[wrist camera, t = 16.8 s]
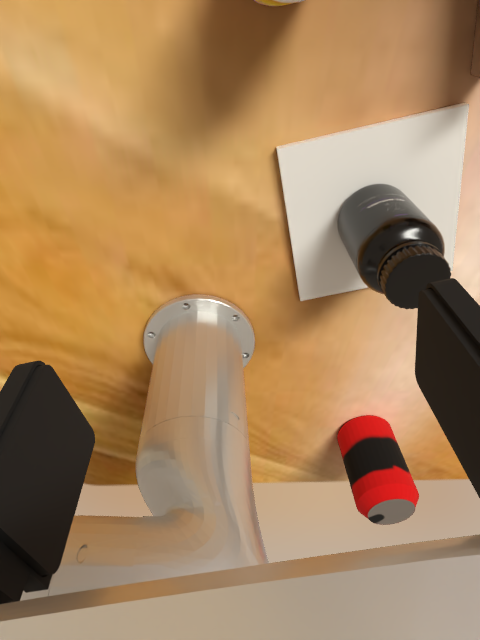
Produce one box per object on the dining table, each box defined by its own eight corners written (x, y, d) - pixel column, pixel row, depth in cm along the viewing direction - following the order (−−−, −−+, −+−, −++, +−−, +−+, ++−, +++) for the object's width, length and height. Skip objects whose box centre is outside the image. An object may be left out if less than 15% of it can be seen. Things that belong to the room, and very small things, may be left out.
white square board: (449, 266, 45) (452, 270, 44) (299, 296, 46) (300, 301, 45) (464, 102, 35) (469, 104, 35) (276, 146, 37) (277, 149, 36)
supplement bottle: (378, 165, 37) (436, 218, 28) (421, 214, 40) (486, 278, 30) (319, 219, 40) (353, 286, 30) (363, 262, 43) (406, 335, 33)
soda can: (326, 431, 60) (347, 512, 50) (372, 405, 57) (404, 486, 47) (354, 455, 63) (379, 535, 54) (399, 432, 60) (434, 512, 51)
